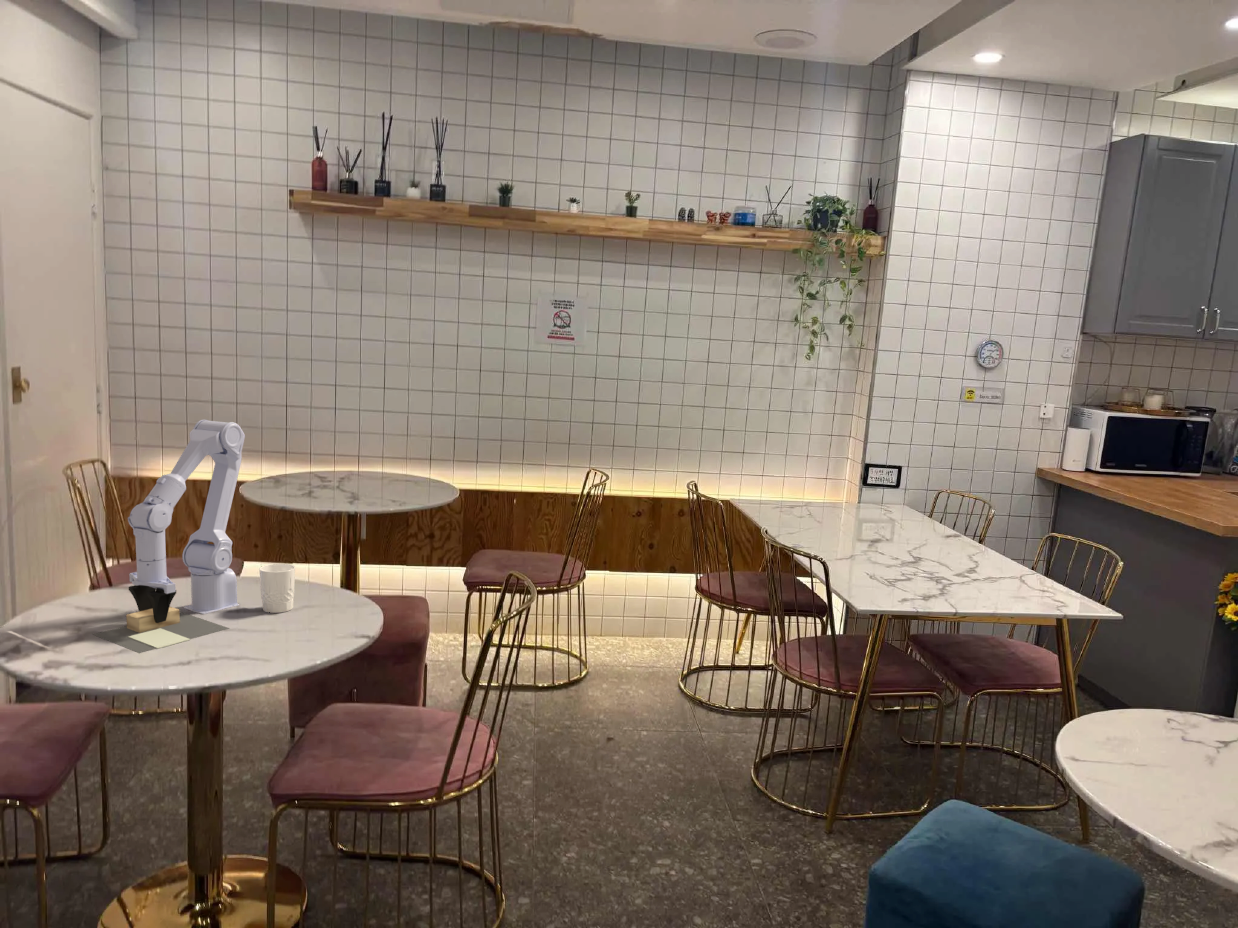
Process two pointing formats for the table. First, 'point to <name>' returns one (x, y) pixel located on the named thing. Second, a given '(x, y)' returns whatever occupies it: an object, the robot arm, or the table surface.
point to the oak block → (150, 620)
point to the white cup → (277, 587)
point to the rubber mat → (161, 634)
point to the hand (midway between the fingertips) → (153, 619)
